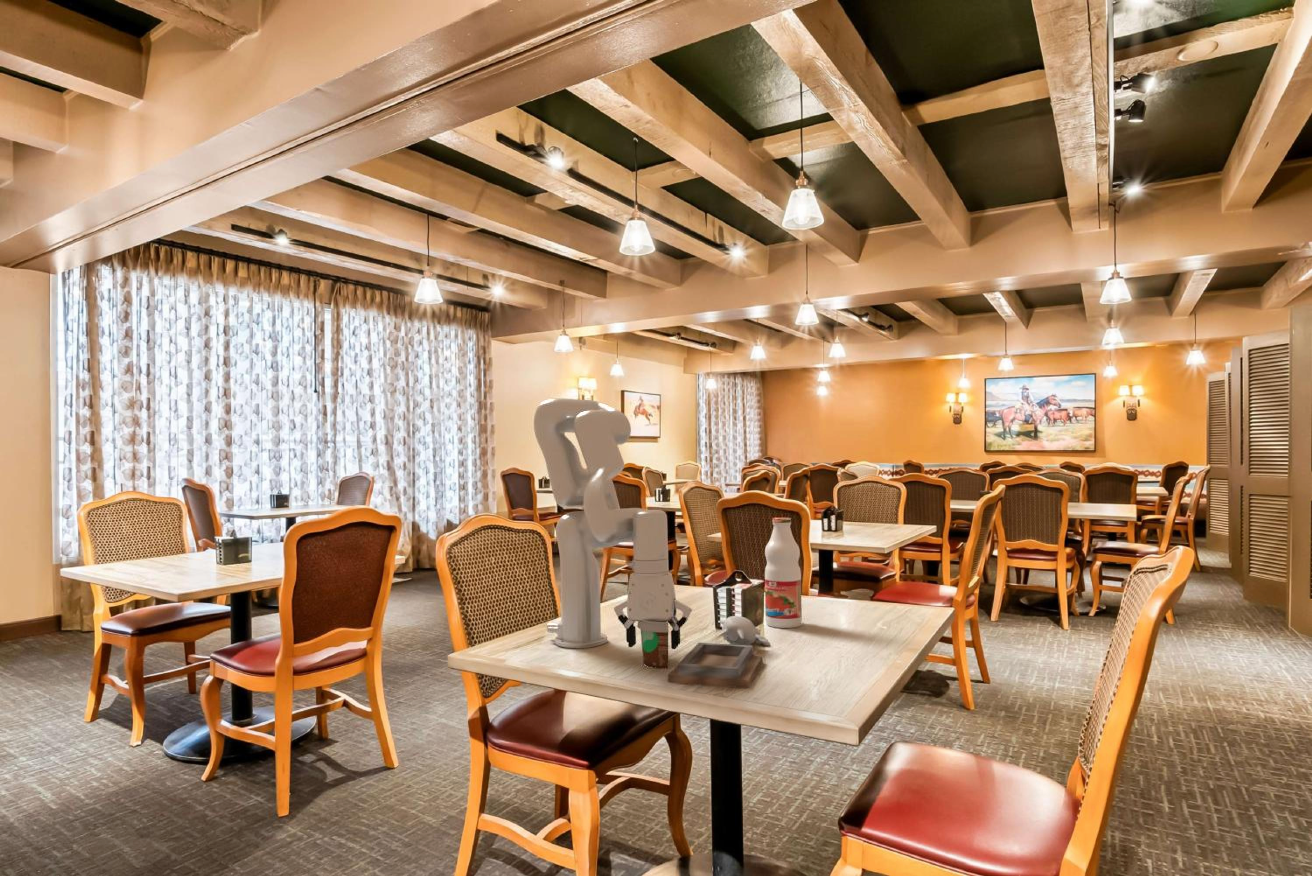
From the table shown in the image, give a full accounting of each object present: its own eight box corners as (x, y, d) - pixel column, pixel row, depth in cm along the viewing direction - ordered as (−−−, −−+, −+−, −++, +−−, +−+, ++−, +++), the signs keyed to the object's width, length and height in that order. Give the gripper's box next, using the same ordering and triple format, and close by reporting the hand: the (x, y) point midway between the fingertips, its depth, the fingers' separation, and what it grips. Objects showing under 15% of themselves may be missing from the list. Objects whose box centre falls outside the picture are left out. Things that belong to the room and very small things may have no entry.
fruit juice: (809, 624, 191) (807, 518, 192) (785, 630, 185) (783, 520, 186) (781, 619, 198) (779, 516, 199) (758, 624, 192) (756, 518, 193)
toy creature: (783, 627, 176) (760, 632, 158) (772, 655, 176) (748, 664, 158) (736, 605, 182) (709, 608, 164) (726, 633, 181) (697, 638, 164)
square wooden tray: (667, 682, 144) (667, 664, 144) (690, 657, 161) (690, 641, 161) (748, 688, 139) (748, 669, 139) (762, 662, 156) (762, 646, 157)
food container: (636, 656, 163) (635, 611, 164) (663, 655, 164) (662, 610, 164) (639, 672, 151) (638, 623, 151) (669, 670, 151) (668, 622, 152)
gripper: (607, 569, 157) (609, 649, 156) (685, 570, 152) (687, 653, 151) (619, 564, 164) (621, 641, 163) (694, 565, 159) (696, 644, 158)
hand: (653, 646), depth 157 cm, fingers open, 9 cm apart
